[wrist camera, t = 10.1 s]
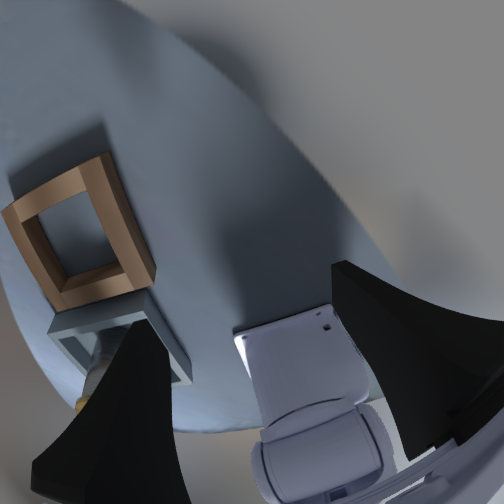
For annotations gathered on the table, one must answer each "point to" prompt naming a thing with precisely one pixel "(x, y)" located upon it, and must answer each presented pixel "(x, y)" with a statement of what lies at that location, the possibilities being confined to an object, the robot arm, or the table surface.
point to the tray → (111, 315)
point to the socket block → (112, 220)
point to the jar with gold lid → (100, 360)
